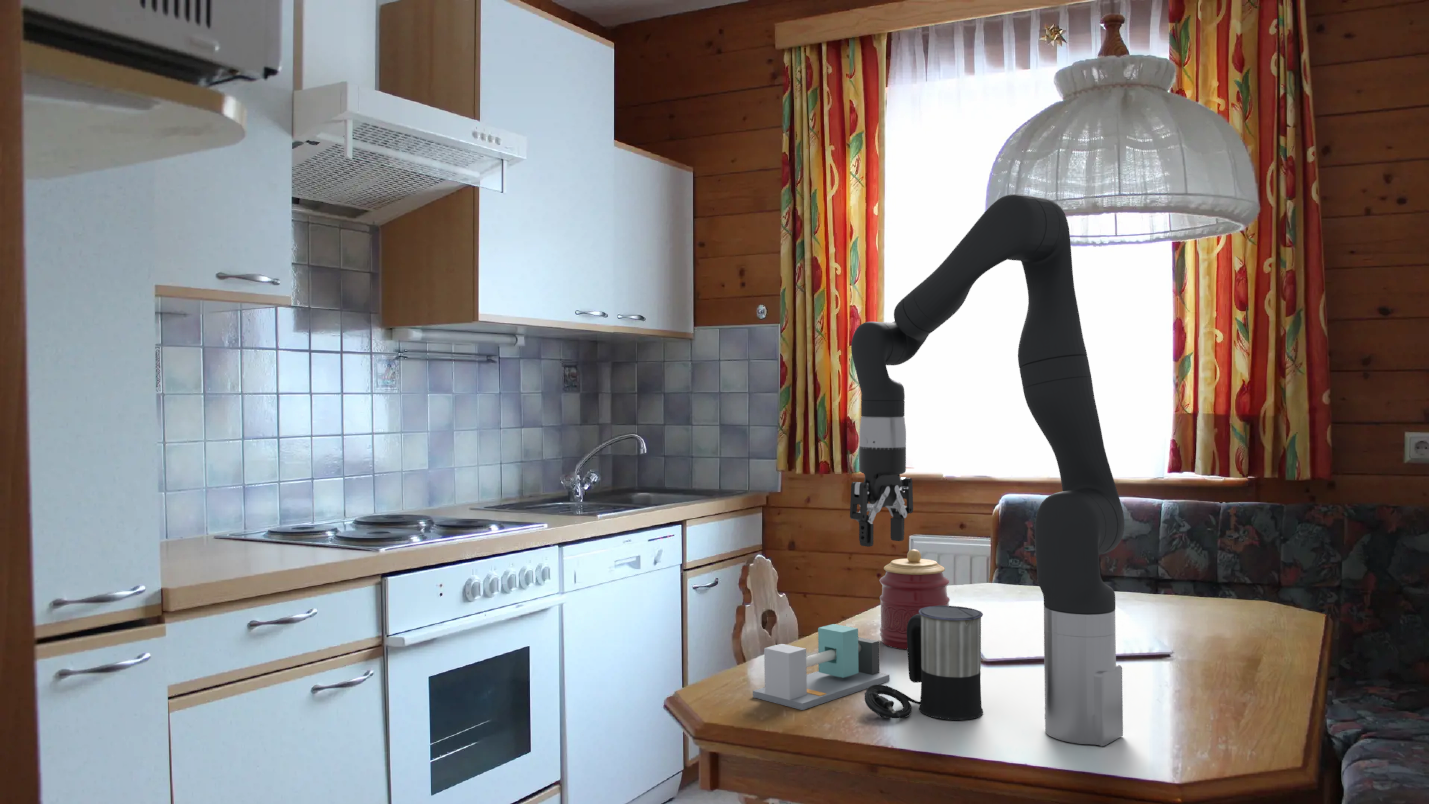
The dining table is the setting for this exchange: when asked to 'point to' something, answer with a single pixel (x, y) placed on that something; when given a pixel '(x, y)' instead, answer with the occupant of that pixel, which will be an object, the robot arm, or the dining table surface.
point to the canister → (909, 594)
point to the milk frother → (939, 666)
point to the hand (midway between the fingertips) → (882, 543)
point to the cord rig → (815, 675)
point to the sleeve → (839, 649)
